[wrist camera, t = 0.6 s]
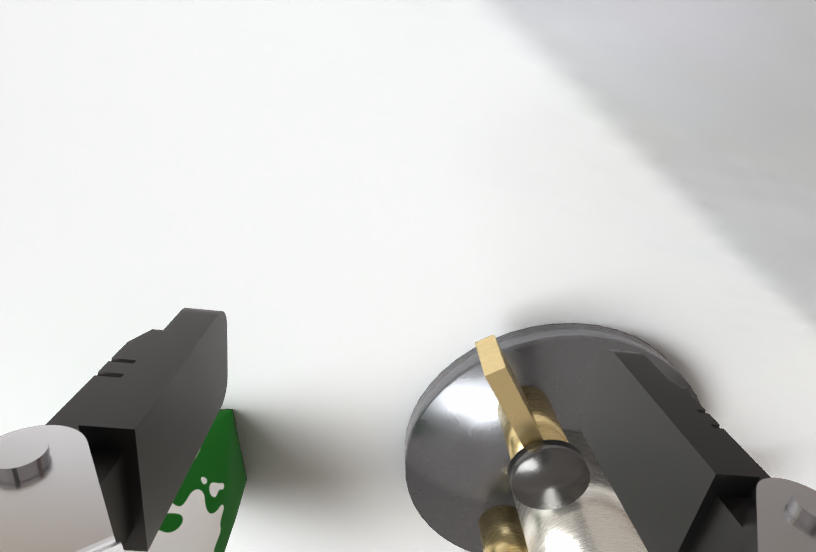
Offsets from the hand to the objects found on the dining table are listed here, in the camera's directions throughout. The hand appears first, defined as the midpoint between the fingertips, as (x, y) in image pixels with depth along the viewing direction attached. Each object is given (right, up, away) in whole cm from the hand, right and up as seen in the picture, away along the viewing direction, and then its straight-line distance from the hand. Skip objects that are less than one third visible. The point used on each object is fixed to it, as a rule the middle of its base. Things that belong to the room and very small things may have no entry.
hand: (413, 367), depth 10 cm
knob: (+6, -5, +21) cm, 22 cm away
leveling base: (+11, -11, +27) cm, 31 cm away
